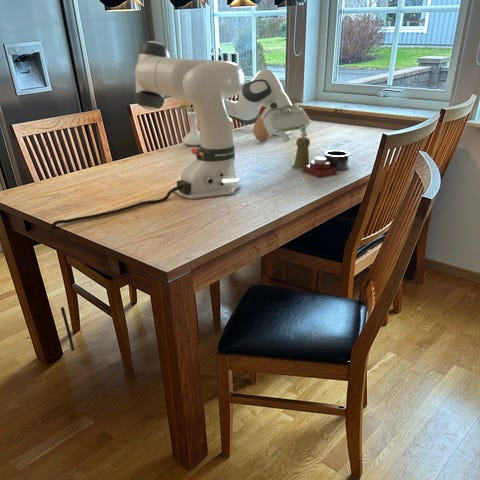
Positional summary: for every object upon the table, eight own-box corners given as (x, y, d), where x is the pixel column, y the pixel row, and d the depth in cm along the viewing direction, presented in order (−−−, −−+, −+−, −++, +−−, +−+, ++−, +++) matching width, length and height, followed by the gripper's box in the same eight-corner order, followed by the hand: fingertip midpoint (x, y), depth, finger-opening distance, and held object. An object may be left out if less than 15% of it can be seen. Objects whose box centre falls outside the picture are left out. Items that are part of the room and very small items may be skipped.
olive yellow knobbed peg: (308, 169, 188) (310, 139, 182) (293, 168, 189) (294, 139, 183) (309, 165, 193) (311, 136, 187) (294, 164, 194) (296, 135, 188)
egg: (271, 139, 231) (271, 114, 225) (270, 143, 224) (270, 117, 218) (254, 139, 232) (254, 114, 226) (252, 143, 225) (252, 117, 219)
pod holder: (333, 172, 184) (335, 157, 181) (319, 166, 191) (320, 152, 188) (351, 168, 188) (353, 154, 185) (336, 163, 195) (338, 149, 192)
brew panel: (319, 177, 179) (320, 166, 177) (303, 171, 186) (303, 160, 184) (336, 174, 182) (337, 163, 180) (319, 168, 189) (320, 157, 187)
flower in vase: (210, 142, 227) (207, 83, 214) (202, 148, 218) (199, 87, 204) (184, 141, 230) (179, 83, 216) (175, 146, 221) (170, 86, 207)
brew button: (319, 165, 180) (319, 160, 179) (311, 162, 183) (312, 157, 182) (328, 163, 181) (328, 158, 180) (321, 160, 185) (321, 156, 184)
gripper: (295, 110, 197) (311, 140, 196) (257, 117, 187) (272, 147, 186) (304, 100, 192) (319, 130, 191) (264, 106, 182) (280, 137, 180)
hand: (296, 139), depth 188 cm, fingers open, 8 cm apart
